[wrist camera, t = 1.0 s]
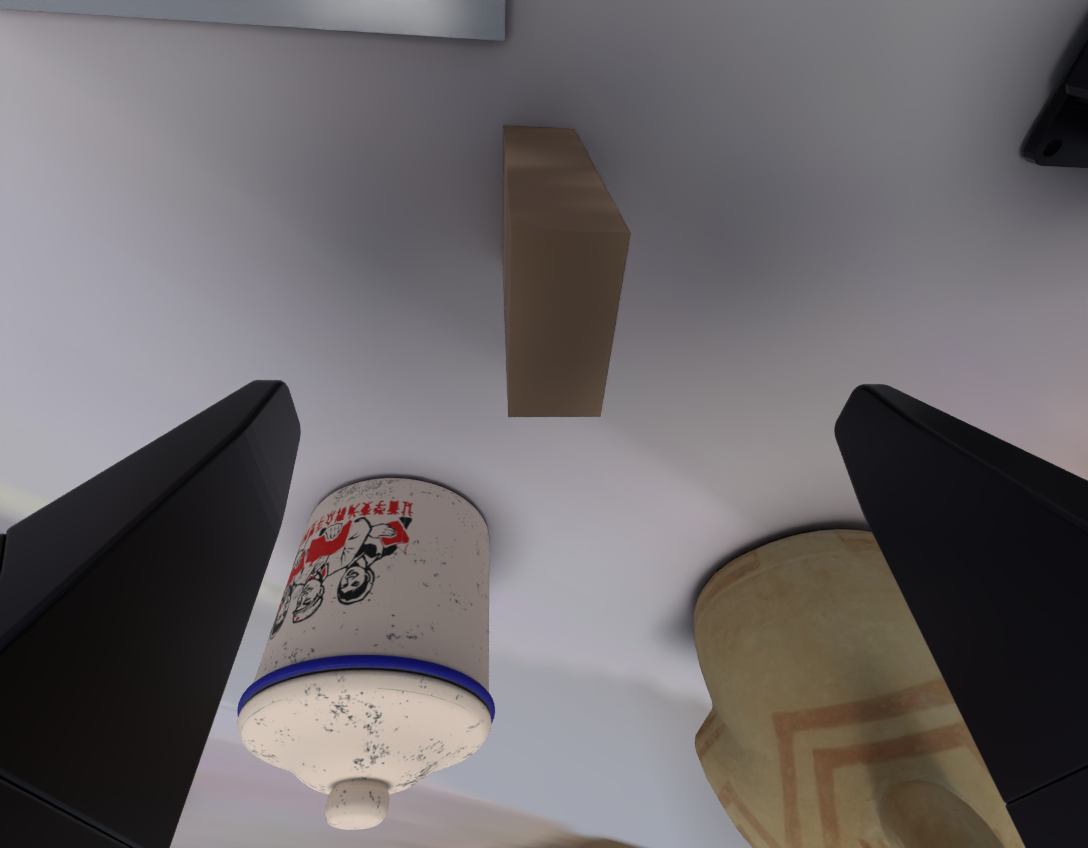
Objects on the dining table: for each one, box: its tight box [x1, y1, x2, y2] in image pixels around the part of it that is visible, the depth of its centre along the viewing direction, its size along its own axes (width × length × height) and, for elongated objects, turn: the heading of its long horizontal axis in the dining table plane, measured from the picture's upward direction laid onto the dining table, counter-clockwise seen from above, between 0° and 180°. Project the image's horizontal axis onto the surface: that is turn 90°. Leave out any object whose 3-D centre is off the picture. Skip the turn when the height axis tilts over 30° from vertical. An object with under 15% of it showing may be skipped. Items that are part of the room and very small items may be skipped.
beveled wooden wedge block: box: [503, 125, 630, 417], centre depth 13 cm, size 2×4×8 cm, turn 177°
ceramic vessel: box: [693, 529, 1025, 848], centre depth 22 cm, size 17×20×25 cm
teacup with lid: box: [238, 478, 495, 830], centre depth 22 cm, size 12×9×12 cm
